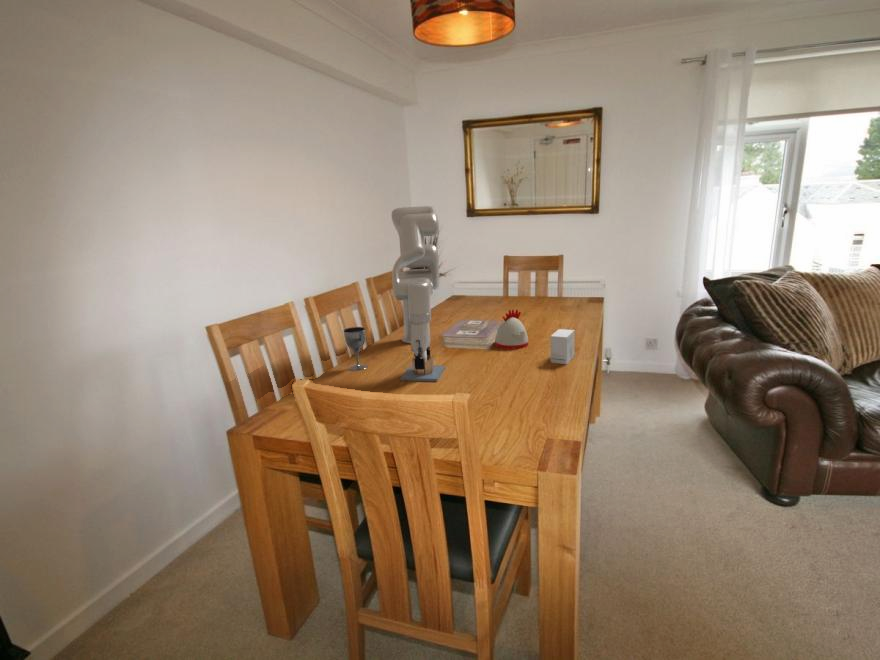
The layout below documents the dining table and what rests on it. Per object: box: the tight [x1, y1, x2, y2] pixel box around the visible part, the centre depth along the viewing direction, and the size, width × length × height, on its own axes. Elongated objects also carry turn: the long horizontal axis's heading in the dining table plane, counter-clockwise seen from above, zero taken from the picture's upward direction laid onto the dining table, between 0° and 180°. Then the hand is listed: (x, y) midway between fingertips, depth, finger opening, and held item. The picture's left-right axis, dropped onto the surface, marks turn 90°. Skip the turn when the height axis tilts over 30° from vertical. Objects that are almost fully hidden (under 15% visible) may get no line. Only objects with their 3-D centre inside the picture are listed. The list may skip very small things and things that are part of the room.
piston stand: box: [400, 349, 446, 382], centre depth 165 cm, size 13×13×10 cm
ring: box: [411, 355, 434, 375], centre depth 165 cm, size 7×7×5 cm
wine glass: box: [343, 326, 368, 372], centre depth 175 cm, size 8×8×15 cm
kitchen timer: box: [494, 308, 529, 350], centre depth 194 cm, size 14×14×15 cm
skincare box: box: [550, 328, 576, 365], centre depth 173 cm, size 10×6×10 cm, turn 149°
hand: (423, 364), depth 165 cm, fingers open, 9 cm apart
